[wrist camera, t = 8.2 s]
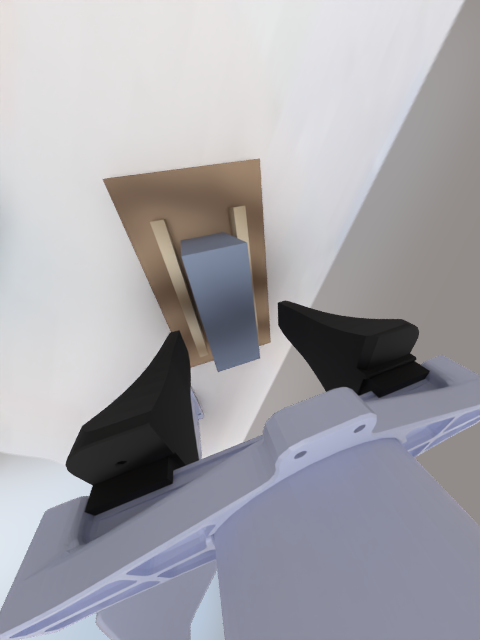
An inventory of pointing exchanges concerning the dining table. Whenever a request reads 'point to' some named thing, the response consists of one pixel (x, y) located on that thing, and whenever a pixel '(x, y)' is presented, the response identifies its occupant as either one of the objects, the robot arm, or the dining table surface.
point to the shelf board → (193, 235)
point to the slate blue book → (223, 296)
